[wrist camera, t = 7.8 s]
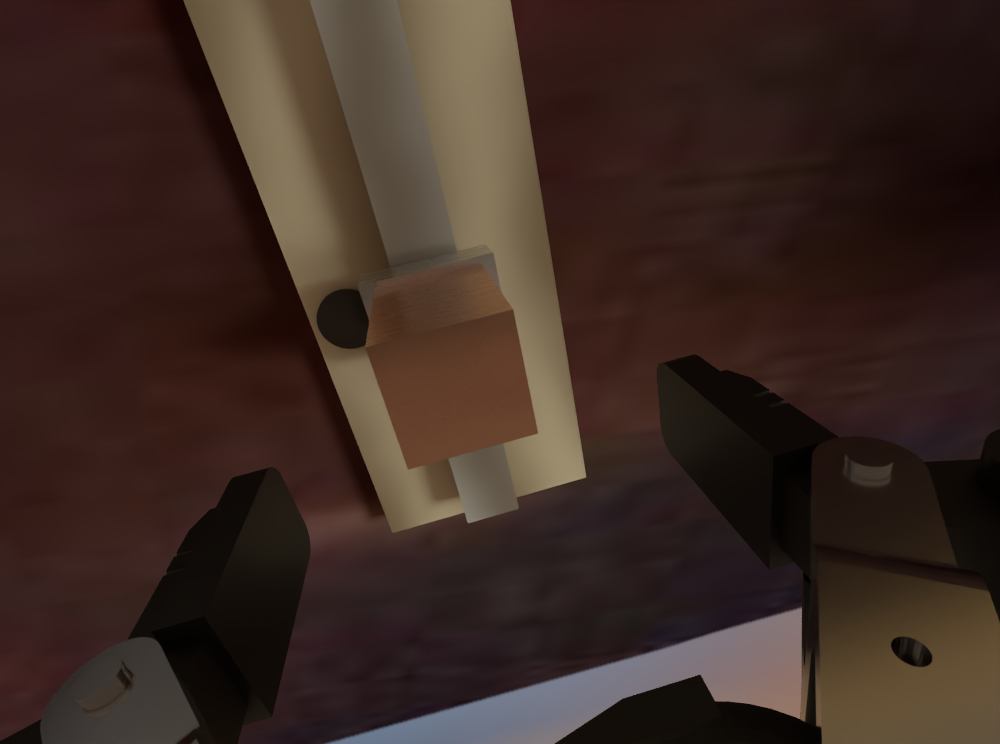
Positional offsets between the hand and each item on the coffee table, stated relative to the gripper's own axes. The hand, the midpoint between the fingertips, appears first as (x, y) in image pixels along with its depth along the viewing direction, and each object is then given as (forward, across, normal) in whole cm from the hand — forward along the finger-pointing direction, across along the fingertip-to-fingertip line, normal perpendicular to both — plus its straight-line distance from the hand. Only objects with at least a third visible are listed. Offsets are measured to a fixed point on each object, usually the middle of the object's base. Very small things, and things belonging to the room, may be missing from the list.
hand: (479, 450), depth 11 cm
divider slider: (+11, 0, 0) cm, 11 cm away
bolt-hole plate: (+13, 0, -4) cm, 13 cm away
